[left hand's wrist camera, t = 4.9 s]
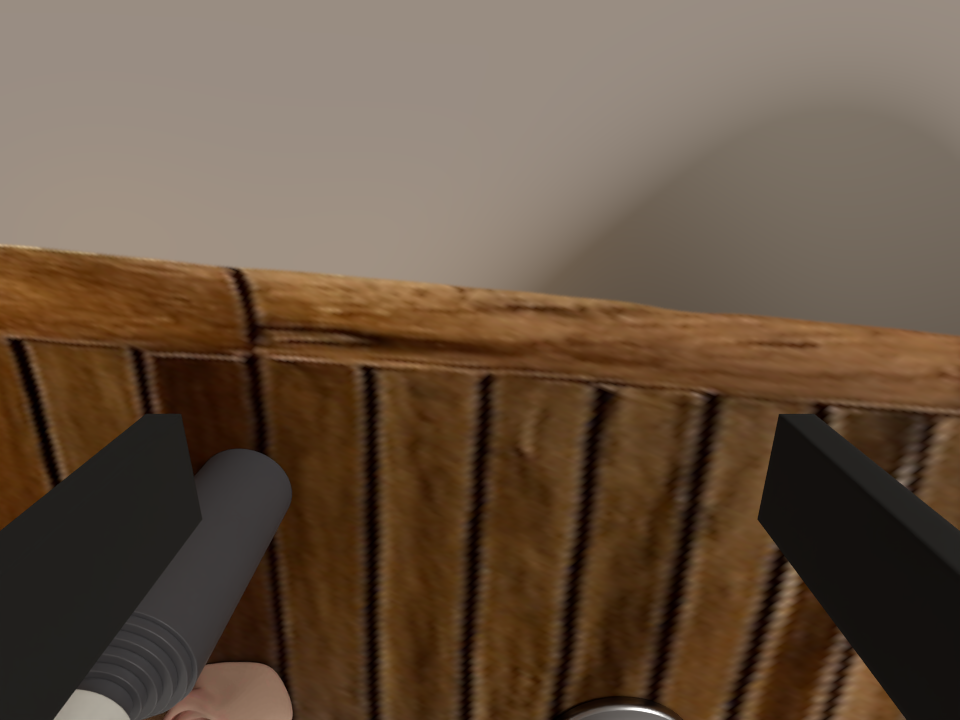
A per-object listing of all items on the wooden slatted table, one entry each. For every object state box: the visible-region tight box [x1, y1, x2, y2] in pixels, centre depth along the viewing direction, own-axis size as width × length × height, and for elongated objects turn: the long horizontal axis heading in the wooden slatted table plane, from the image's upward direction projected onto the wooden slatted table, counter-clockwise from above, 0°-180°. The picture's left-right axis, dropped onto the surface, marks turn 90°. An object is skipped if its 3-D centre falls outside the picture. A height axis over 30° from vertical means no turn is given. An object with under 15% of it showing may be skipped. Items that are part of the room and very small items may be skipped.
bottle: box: [77, 449, 292, 720], centre depth 36 cm, size 7×7×22 cm
